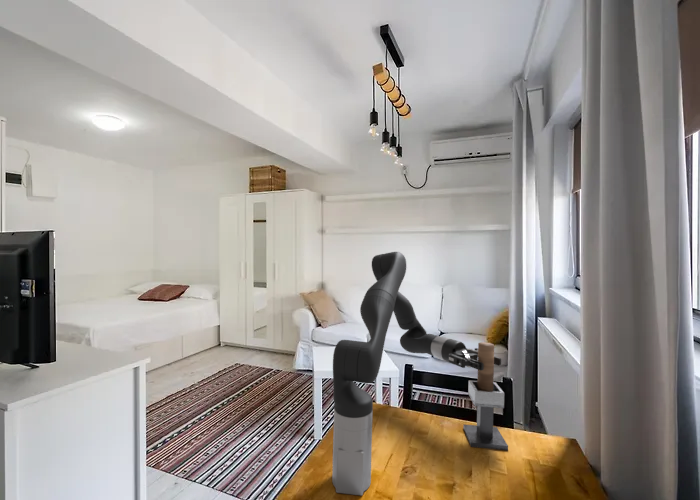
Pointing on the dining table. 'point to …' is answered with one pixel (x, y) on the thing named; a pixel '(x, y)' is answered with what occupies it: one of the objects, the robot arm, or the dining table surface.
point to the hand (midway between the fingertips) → (492, 364)
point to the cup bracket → (485, 418)
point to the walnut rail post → (486, 366)
